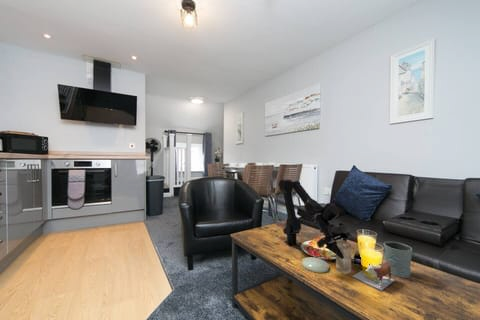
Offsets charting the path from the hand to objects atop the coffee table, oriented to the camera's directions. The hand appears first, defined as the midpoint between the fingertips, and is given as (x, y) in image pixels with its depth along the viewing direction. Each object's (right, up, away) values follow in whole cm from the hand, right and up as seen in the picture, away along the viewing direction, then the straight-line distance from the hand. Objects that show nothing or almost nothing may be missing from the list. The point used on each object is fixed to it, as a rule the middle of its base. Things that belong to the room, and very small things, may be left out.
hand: (346, 257), depth 88 cm
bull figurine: (+10, -7, -8) cm, 14 cm away
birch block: (-1, -7, +1) cm, 7 cm away
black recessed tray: (+11, -8, +8) cm, 16 cm away
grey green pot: (+23, -7, 0) cm, 24 cm away
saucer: (-12, -7, +5) cm, 15 cm away
